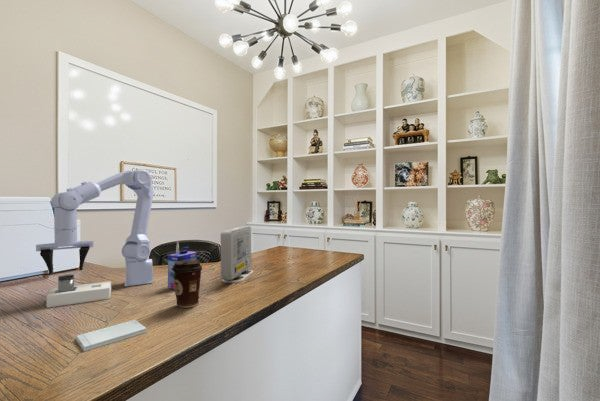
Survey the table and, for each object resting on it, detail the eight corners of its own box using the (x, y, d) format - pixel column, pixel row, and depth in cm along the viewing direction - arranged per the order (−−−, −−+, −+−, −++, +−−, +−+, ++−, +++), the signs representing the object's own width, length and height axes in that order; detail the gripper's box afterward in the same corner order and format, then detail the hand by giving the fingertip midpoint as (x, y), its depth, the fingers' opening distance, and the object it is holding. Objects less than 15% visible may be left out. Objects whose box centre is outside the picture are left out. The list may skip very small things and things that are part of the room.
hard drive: (134, 319, 77) (75, 334, 68) (146, 327, 72) (83, 346, 63) (135, 325, 77) (75, 341, 68) (146, 334, 72) (84, 354, 63)
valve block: (111, 290, 106) (111, 281, 106) (109, 298, 98) (109, 287, 98) (53, 298, 99) (53, 288, 99) (46, 307, 90) (46, 296, 90)
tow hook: (178, 264, 153) (168, 267, 144) (179, 239, 154) (168, 240, 145) (194, 264, 152) (184, 268, 143) (194, 239, 153) (184, 240, 144)
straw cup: (178, 290, 106) (178, 249, 106) (166, 288, 108) (166, 248, 108) (197, 283, 115) (197, 245, 115) (186, 281, 117) (186, 244, 117)
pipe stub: (75, 297, 99) (75, 273, 99) (72, 301, 96) (72, 276, 96) (60, 299, 97) (59, 275, 97) (57, 303, 94) (56, 278, 94)
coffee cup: (173, 311, 85) (172, 266, 85) (170, 303, 92) (170, 261, 92) (204, 306, 89) (204, 262, 89) (200, 298, 96) (199, 258, 97)
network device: (238, 269, 138) (238, 226, 138) (257, 269, 136) (256, 226, 136) (215, 285, 112) (214, 231, 112) (237, 285, 111) (237, 231, 111)
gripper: (94, 227, 104) (94, 266, 103) (39, 229, 96) (40, 271, 96) (92, 228, 97) (92, 270, 97) (33, 231, 90) (34, 276, 90)
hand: (66, 271), depth 96 cm, fingers open, 7 cm apart
